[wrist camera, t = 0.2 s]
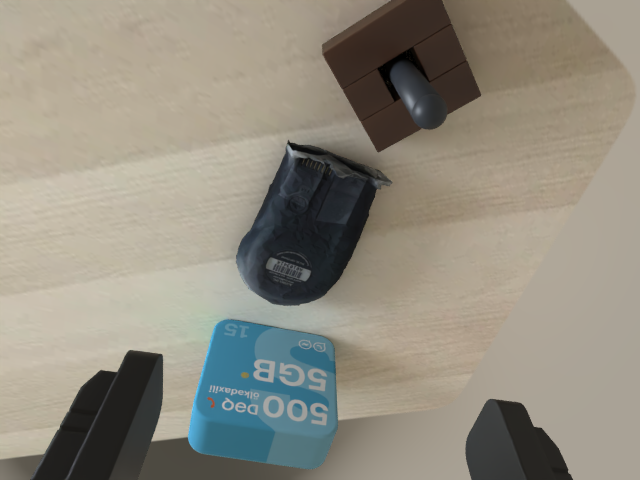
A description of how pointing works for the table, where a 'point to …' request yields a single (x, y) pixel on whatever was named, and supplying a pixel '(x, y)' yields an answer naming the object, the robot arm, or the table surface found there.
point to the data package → (266, 396)
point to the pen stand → (387, 43)
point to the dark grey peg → (416, 93)
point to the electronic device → (307, 225)
